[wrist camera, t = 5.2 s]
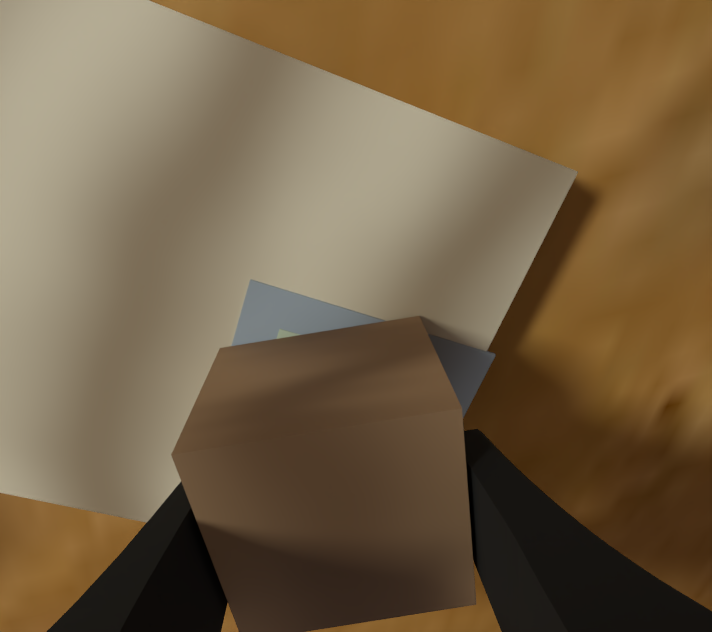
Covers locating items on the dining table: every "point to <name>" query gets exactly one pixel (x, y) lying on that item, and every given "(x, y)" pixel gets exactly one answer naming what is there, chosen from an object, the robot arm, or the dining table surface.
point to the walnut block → (331, 478)
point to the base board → (218, 232)
